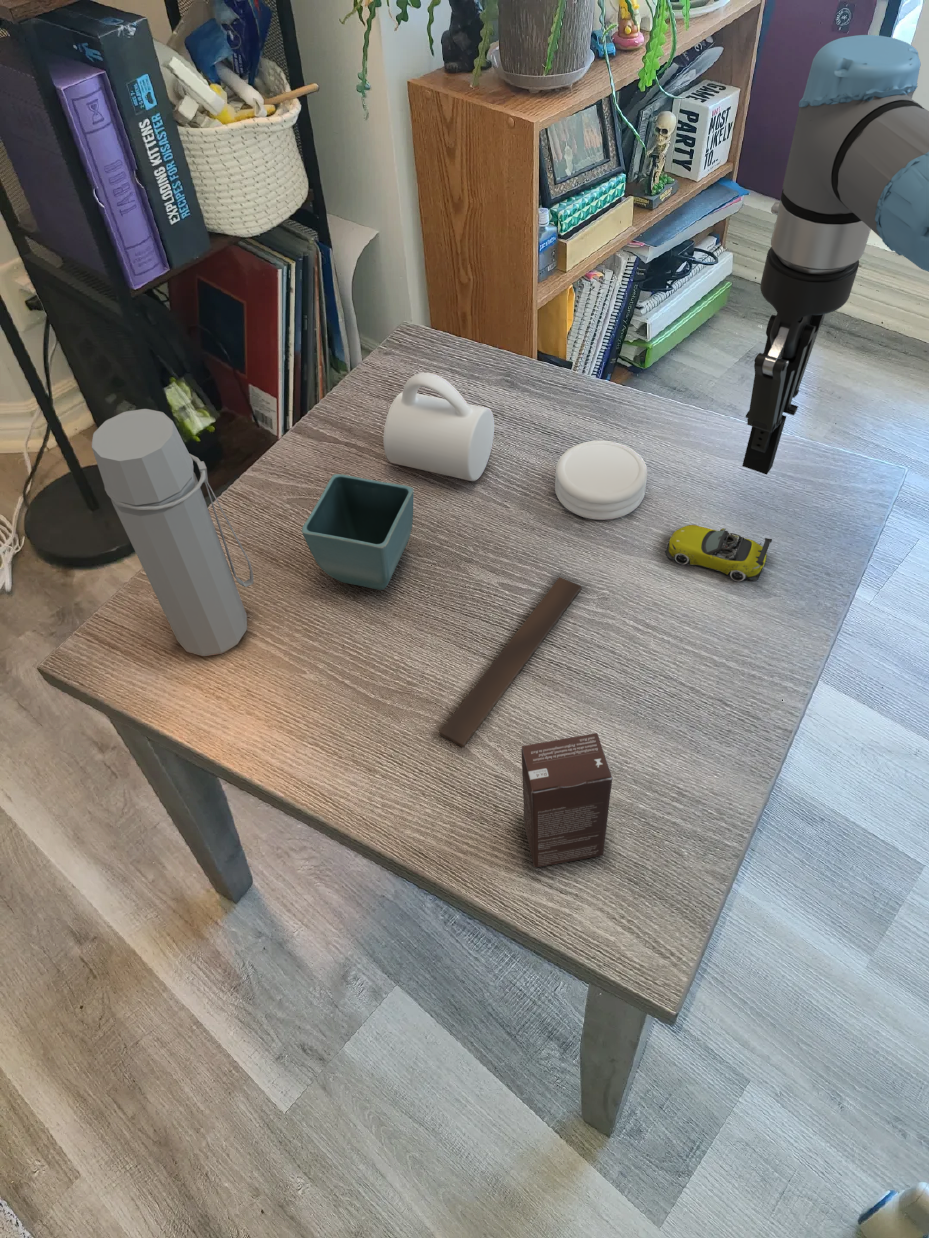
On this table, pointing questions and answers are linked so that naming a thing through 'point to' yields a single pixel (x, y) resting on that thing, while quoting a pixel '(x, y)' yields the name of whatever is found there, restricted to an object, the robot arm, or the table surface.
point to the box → (565, 799)
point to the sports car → (718, 551)
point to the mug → (438, 430)
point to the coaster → (600, 479)
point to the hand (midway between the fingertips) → (757, 466)
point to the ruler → (509, 663)
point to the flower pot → (360, 529)
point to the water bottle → (172, 528)
